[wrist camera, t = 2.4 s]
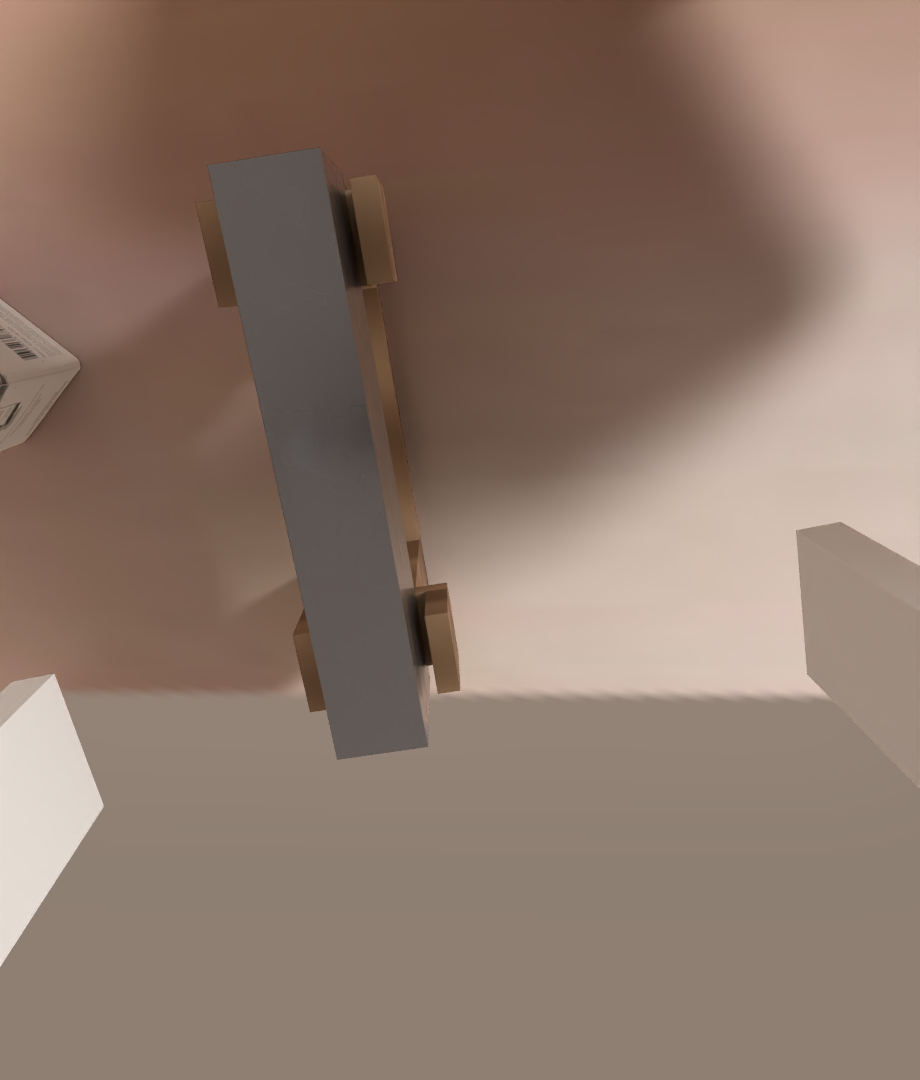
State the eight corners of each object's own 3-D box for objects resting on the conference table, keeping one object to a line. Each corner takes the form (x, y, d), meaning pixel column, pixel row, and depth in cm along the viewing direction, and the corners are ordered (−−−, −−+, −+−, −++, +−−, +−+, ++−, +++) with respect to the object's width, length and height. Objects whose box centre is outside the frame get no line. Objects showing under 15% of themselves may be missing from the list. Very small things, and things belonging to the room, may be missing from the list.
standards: (262, 214, 34) (191, 184, 24) (392, 194, 33) (372, 155, 24) (344, 617, 39) (312, 724, 29) (456, 601, 39) (462, 702, 29)
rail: (249, 187, 26) (207, 165, 21) (341, 173, 26) (319, 147, 21) (352, 688, 32) (337, 759, 27) (429, 677, 31) (428, 746, 27)
